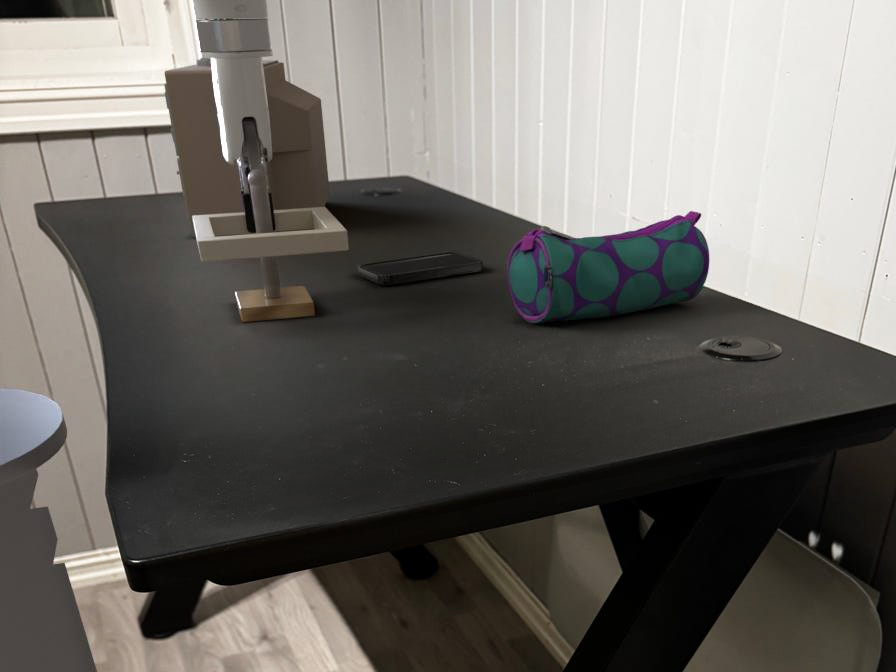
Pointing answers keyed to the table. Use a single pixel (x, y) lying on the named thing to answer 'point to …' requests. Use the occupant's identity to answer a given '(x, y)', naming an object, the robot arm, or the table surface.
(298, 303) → the wooden base with peg
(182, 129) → the television
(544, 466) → the table surface
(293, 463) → the table surface
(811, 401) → the table surface
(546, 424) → the table surface
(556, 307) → the pencil case
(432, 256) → the phone
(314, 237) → the white square frame
